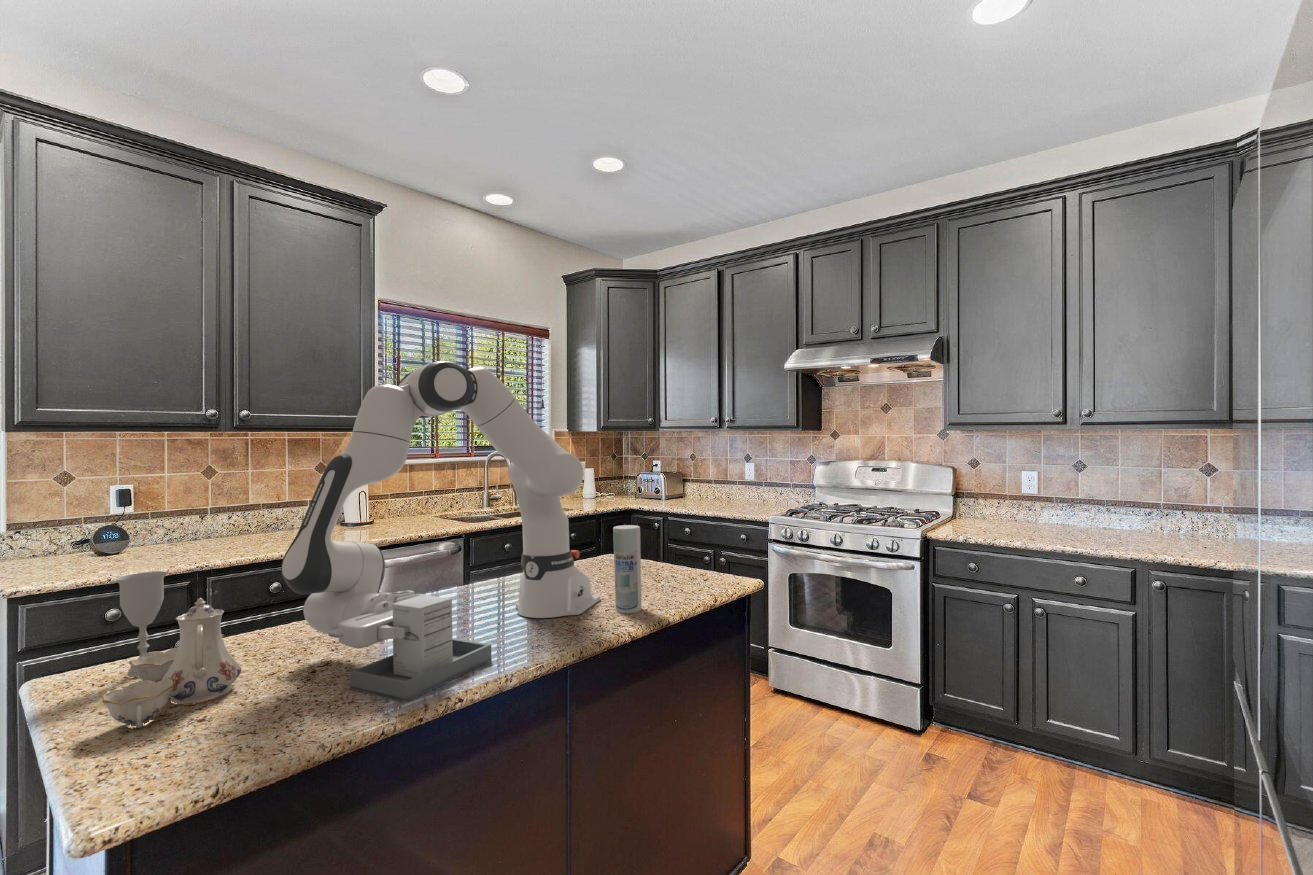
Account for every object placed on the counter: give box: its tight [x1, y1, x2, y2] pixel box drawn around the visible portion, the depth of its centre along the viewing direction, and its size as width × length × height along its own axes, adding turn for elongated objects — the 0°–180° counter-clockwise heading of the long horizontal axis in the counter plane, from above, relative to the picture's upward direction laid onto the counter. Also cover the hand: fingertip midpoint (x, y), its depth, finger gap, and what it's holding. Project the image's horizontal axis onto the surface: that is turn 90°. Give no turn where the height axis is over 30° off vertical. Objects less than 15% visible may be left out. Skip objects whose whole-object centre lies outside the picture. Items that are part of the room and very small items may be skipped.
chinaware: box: [101, 597, 242, 729], centre depth 101 cm, size 28×17×17 cm, turn 35°
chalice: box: [115, 571, 168, 677], centre depth 113 cm, size 7×7×18 cm
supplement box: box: [392, 594, 453, 678], centre depth 109 cm, size 7×7×13 cm
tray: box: [349, 637, 493, 703], centre depth 109 cm, size 20×13×3 cm, turn 154°
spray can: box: [612, 524, 642, 614], centre depth 148 cm, size 6×6×20 cm
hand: (427, 625), depth 109 cm, fingers open, 8 cm apart
